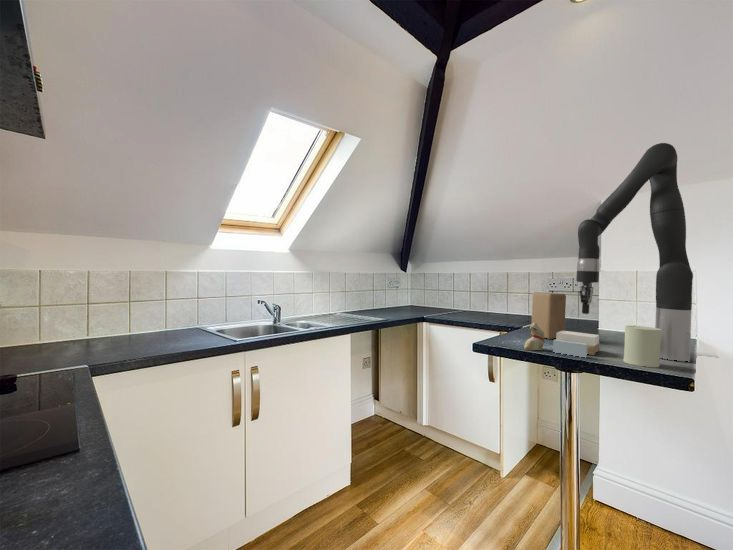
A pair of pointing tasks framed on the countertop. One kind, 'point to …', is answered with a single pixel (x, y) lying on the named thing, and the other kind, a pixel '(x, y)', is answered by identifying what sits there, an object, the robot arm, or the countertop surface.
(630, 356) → the can
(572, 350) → the rail
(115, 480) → the countertop surface
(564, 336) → the slab
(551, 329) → the wooden block
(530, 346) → the chocolate bunny
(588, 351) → the roller
